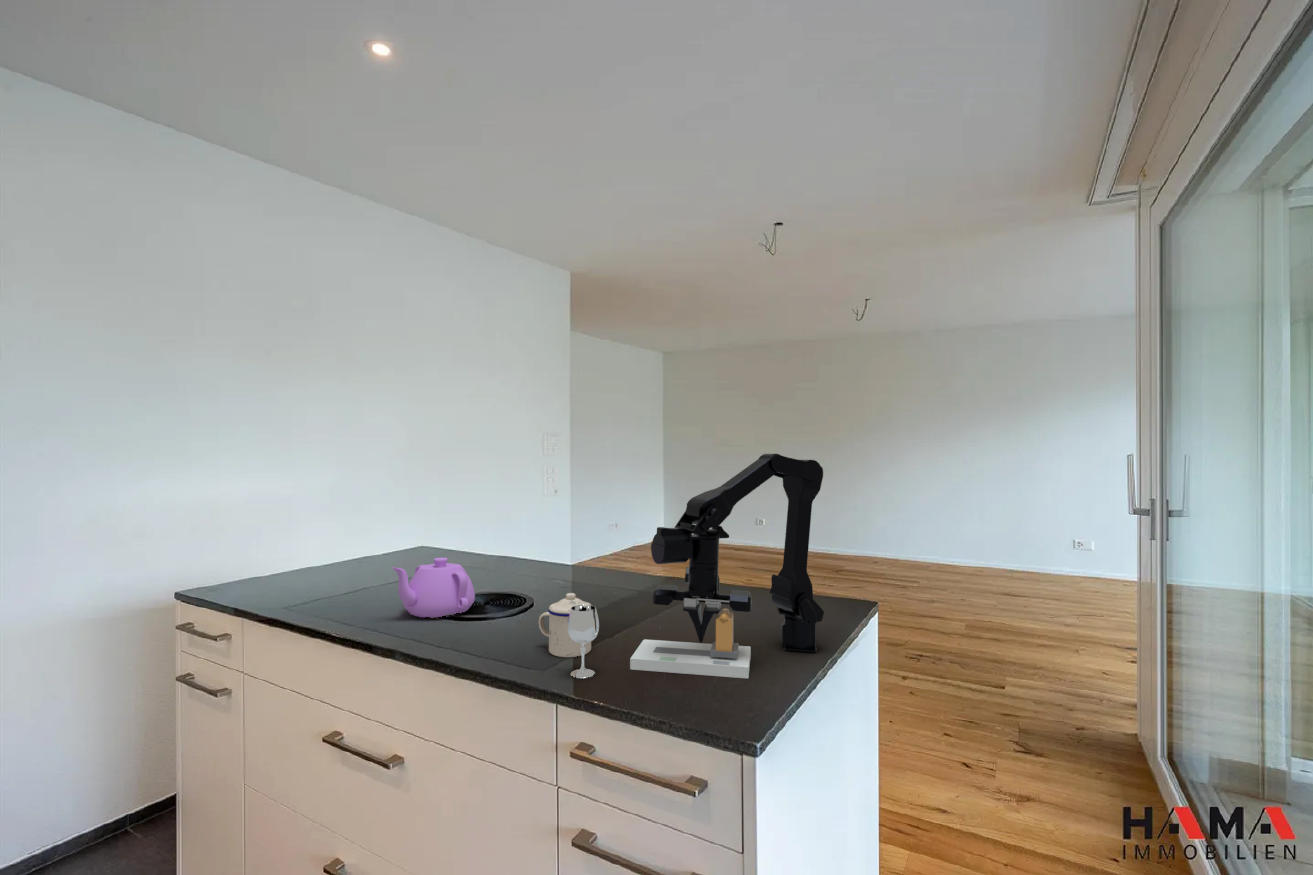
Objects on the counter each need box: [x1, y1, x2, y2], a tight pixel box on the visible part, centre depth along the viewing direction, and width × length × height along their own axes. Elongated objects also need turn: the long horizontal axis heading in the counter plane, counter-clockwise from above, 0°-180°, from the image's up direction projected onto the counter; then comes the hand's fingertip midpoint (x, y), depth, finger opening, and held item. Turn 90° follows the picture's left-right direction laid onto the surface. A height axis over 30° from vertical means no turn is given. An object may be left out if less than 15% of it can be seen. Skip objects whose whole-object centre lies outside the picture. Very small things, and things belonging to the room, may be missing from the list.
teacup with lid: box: [538, 592, 592, 658], centre depth 121 cm, size 12×9×12 cm
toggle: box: [710, 607, 740, 658], centre depth 113 cm, size 5×6×8 cm
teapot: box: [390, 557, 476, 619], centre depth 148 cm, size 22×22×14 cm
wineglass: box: [568, 604, 600, 679], centre depth 108 cm, size 6×6×12 cm
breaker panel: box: [629, 639, 752, 679], centre depth 114 cm, size 22×12×2 cm, turn 79°
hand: (701, 642), depth 114 cm, fingers closed
